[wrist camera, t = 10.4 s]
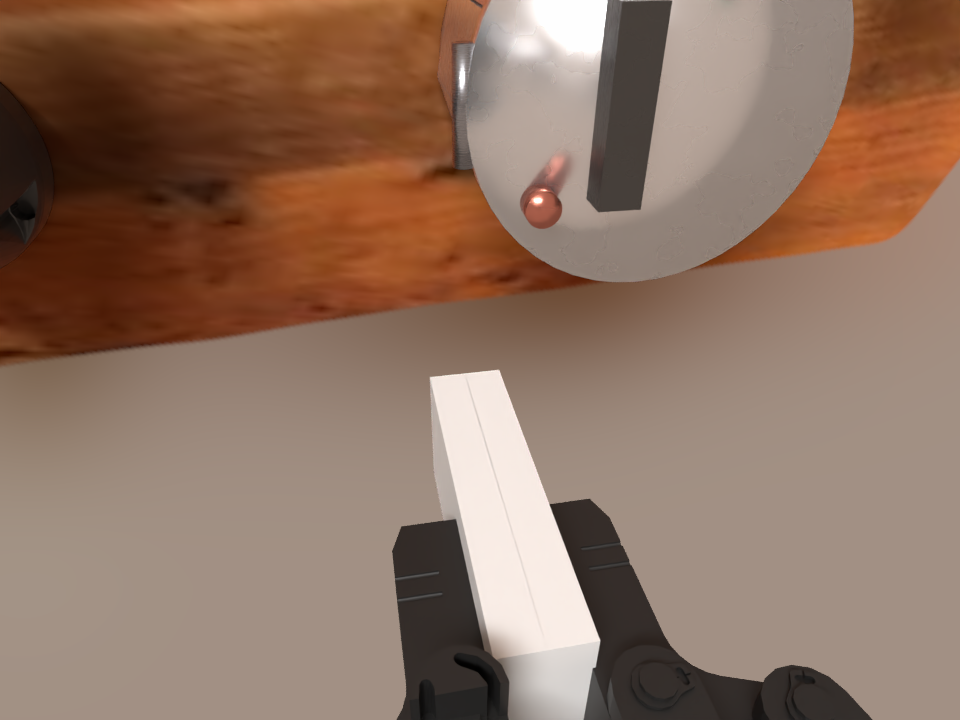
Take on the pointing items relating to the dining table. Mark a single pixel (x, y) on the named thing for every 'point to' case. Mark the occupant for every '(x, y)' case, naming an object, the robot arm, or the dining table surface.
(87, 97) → the dining table surface
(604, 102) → the lid
